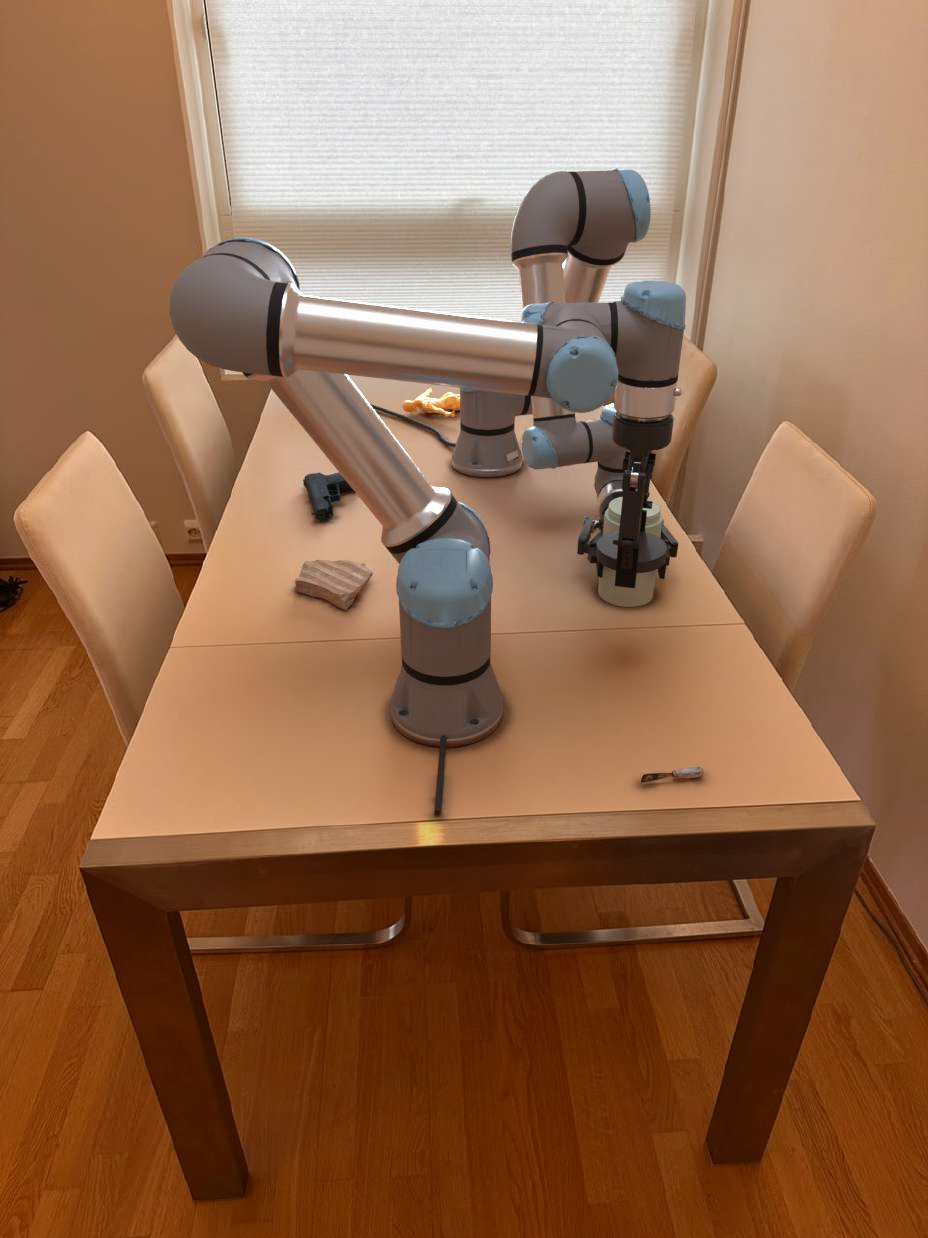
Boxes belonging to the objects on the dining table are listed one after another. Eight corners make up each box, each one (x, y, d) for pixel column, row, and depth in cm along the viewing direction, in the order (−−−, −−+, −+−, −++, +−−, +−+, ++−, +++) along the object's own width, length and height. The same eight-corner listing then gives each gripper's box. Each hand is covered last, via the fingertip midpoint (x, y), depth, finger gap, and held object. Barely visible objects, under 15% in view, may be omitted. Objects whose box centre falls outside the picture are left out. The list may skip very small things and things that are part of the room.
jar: (607, 609, 144) (615, 521, 135) (591, 582, 151) (598, 496, 143) (661, 604, 145) (672, 516, 136) (642, 577, 152) (652, 492, 144)
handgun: (374, 516, 173) (312, 524, 171) (359, 480, 188) (302, 487, 185) (373, 501, 172) (311, 508, 169) (358, 466, 186) (300, 472, 183)
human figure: (395, 413, 223) (394, 398, 221) (438, 390, 237) (438, 375, 235) (462, 429, 215) (462, 413, 213) (502, 404, 229) (503, 388, 227)
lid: (656, 539, 128) (657, 528, 127) (674, 571, 120) (675, 560, 119) (590, 542, 127) (591, 531, 126) (603, 575, 119) (604, 563, 118)
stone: (382, 577, 152) (381, 564, 151) (347, 611, 143) (346, 598, 142) (316, 564, 157) (314, 551, 155) (279, 596, 147) (277, 583, 146)
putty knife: (703, 777, 109) (705, 767, 109) (642, 788, 108) (644, 777, 107) (700, 772, 110) (702, 762, 109) (639, 782, 109) (640, 771, 108)
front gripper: (667, 446, 103) (649, 611, 114) (680, 387, 121) (662, 536, 133) (602, 440, 104) (590, 604, 116) (624, 384, 122) (612, 530, 134)
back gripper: (679, 530, 161) (698, 593, 142) (558, 527, 162) (561, 589, 143) (684, 492, 157) (705, 551, 138) (560, 489, 158) (563, 547, 139)
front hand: (629, 568), depth 124 cm, fingers closed on lid, 9 cm apart
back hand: (631, 570), depth 141 cm, fingers closed on jar, 9 cm apart
